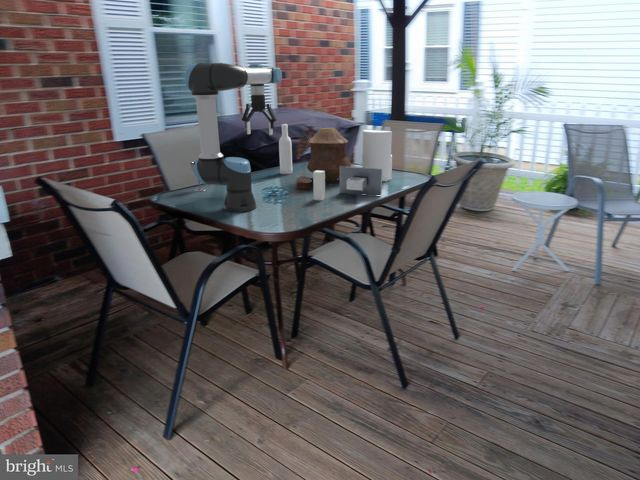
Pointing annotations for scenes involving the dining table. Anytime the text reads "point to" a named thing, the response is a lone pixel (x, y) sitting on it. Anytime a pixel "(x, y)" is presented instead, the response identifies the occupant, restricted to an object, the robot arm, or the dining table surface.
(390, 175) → the cylinder
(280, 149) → the bottle
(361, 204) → the dining table surface
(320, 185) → the rail post
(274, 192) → the dining table surface
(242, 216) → the dining table surface
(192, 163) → the wine glass
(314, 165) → the pottery vessel
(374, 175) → the grey block
